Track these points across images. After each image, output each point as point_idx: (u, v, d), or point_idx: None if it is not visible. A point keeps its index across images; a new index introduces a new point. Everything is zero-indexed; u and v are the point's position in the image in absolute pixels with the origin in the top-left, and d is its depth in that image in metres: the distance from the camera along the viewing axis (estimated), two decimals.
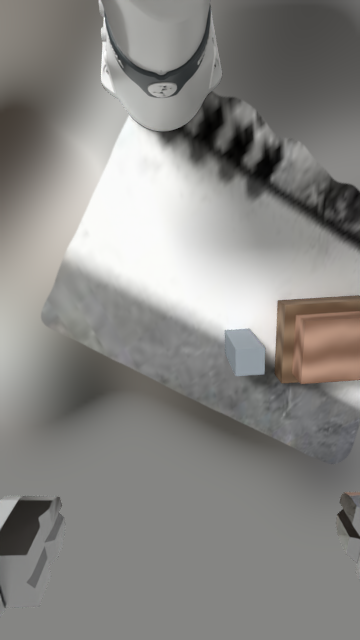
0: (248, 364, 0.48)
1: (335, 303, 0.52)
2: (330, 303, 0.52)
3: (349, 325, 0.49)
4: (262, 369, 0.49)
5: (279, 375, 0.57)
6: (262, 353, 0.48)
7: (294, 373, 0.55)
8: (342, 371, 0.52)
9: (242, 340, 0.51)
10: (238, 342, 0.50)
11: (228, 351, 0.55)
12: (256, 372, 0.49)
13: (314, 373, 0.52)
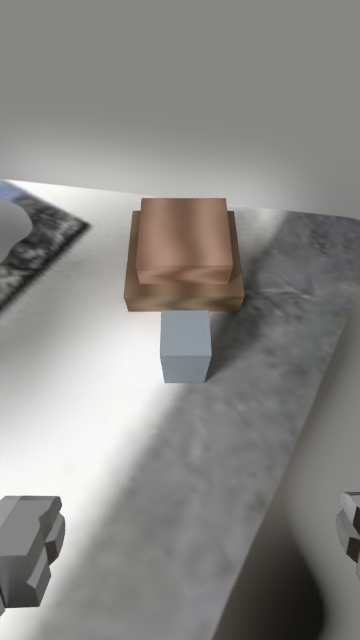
0: (189, 335, 0.28)
1: (131, 243, 0.42)
2: (130, 248, 0.41)
3: (149, 220, 0.39)
4: (200, 313, 0.30)
5: (234, 301, 0.39)
6: (171, 314, 0.30)
7: (225, 279, 0.38)
8: (213, 221, 0.38)
9: None
10: None
11: (189, 374, 0.33)
12: (205, 322, 0.29)
13: (216, 250, 0.36)
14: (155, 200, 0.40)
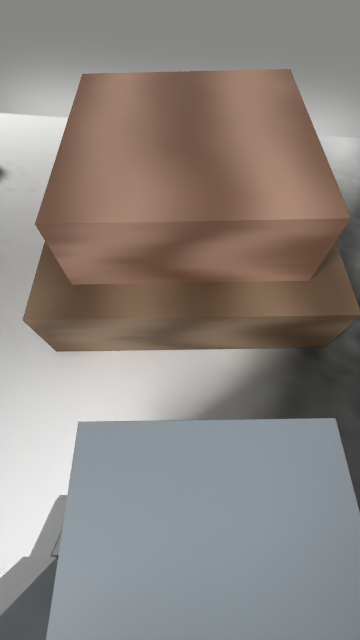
0: (246, 621, 0.04)
1: None
2: None
3: (95, 113, 0.14)
4: (290, 438, 0.05)
5: (327, 327, 0.14)
6: (131, 445, 0.05)
7: (306, 268, 0.13)
8: (267, 113, 0.14)
9: None
10: None
11: None
12: (331, 503, 0.05)
13: (288, 179, 0.12)
14: (115, 76, 0.16)
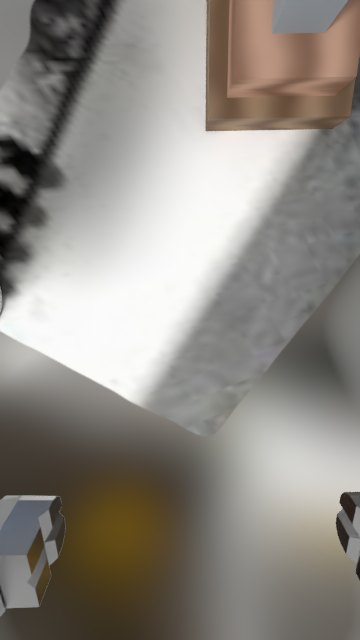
0: None
1: (212, 15, 0.29)
2: (211, 26, 0.30)
3: None
4: None
5: (334, 120, 0.33)
6: None
7: (334, 91, 0.30)
8: None
9: None
10: None
11: (323, 2, 0.23)
12: None
13: (340, 47, 0.27)
14: None
